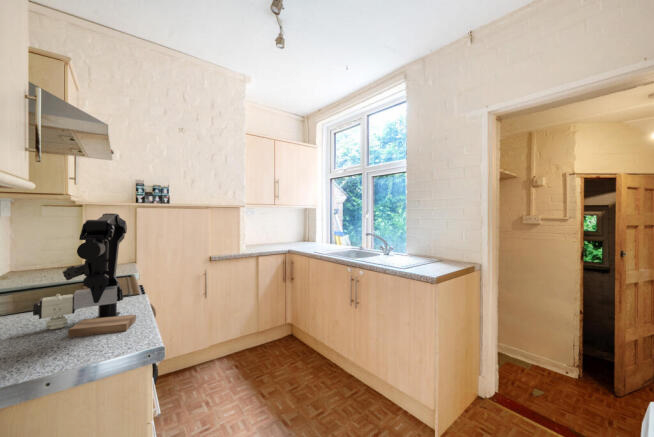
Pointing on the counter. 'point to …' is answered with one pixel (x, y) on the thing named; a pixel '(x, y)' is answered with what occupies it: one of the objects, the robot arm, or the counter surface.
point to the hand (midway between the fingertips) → (96, 300)
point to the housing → (86, 300)
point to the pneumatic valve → (55, 310)
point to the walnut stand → (102, 325)
